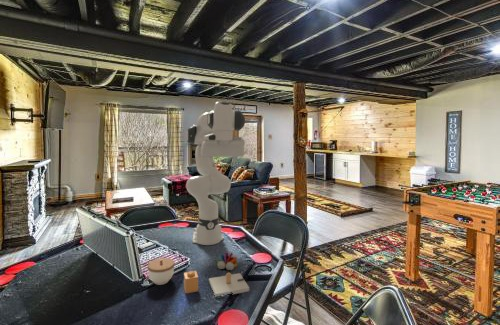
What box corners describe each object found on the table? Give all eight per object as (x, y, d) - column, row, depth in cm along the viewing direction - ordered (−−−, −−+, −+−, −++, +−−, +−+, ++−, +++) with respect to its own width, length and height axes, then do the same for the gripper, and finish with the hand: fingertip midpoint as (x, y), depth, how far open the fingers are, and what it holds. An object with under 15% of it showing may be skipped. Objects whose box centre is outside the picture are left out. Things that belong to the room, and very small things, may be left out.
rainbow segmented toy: (234, 272, 122) (235, 257, 121) (214, 270, 124) (214, 255, 123) (239, 264, 130) (239, 249, 130) (220, 261, 132) (220, 247, 131)
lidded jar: (149, 290, 107) (149, 268, 106) (146, 277, 116) (146, 257, 115) (176, 284, 111) (176, 262, 111) (171, 272, 121) (171, 252, 120)
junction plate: (208, 281, 114) (208, 269, 113) (239, 276, 119) (240, 264, 118) (215, 297, 103) (215, 284, 102) (249, 291, 108) (249, 278, 107)
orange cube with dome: (183, 286, 110) (183, 270, 109) (196, 284, 112) (196, 269, 111) (185, 293, 105) (185, 277, 104) (198, 291, 107) (198, 275, 106)
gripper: (242, 137, 130) (241, 165, 131) (200, 136, 123) (200, 166, 124) (246, 137, 124) (245, 166, 125) (202, 136, 117) (202, 167, 118)
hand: (222, 166), depth 125 cm, fingers open, 8 cm apart
